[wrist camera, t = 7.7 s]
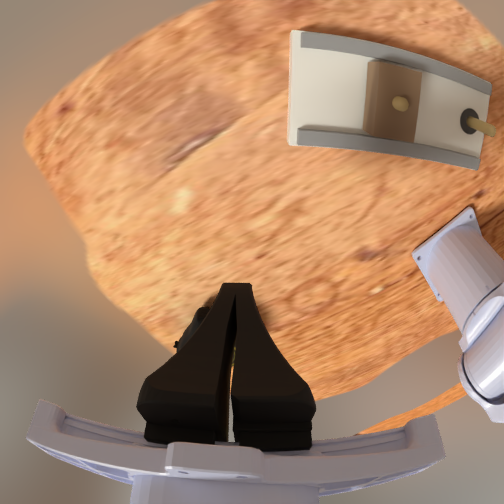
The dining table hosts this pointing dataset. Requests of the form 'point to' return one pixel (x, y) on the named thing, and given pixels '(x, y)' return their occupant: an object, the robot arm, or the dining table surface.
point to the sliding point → (391, 101)
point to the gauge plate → (353, 100)
